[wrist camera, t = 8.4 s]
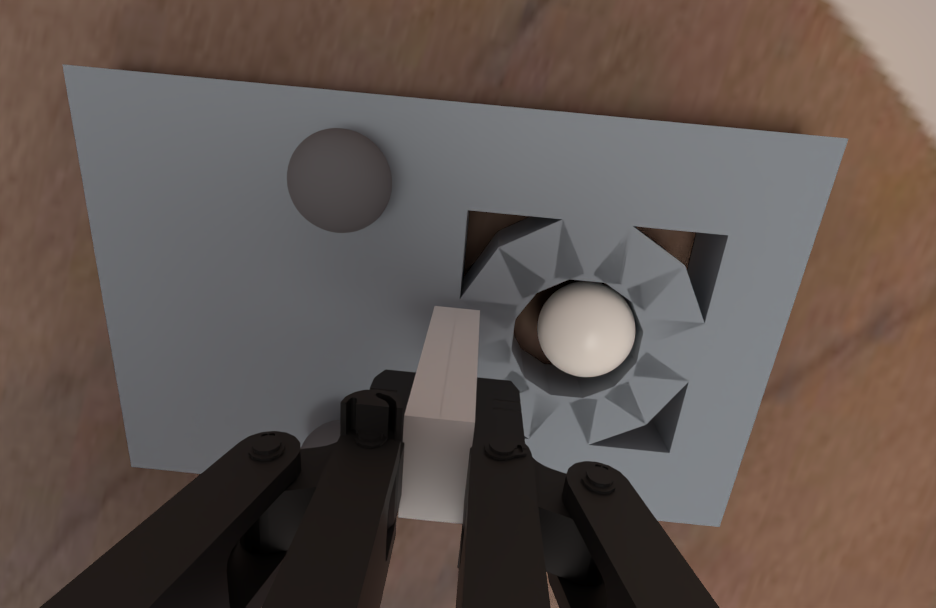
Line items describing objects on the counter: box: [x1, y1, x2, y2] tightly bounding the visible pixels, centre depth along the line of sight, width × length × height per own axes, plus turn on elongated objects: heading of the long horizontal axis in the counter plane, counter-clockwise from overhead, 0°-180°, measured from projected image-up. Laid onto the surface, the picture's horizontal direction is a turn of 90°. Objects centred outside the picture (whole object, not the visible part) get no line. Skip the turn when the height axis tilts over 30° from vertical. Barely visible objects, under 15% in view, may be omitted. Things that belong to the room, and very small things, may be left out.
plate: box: [63, 65, 848, 527], centre depth 20 cm, size 24×15×2 cm, turn 85°
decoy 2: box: [287, 128, 392, 233], centre depth 15 cm, size 3×3×3 cm
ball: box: [537, 281, 635, 377], centre depth 19 cm, size 4×4×4 cm
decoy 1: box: [300, 420, 340, 449], centre depth 19 cm, size 3×3×3 cm
